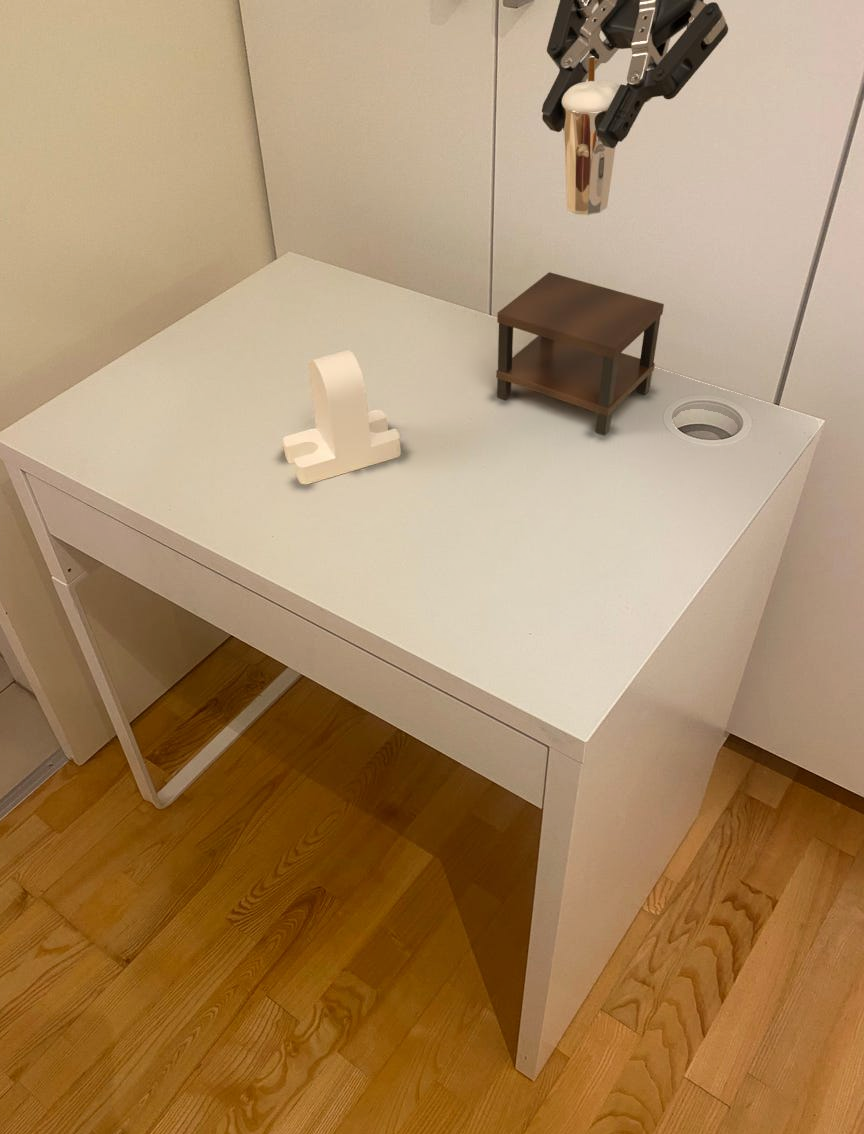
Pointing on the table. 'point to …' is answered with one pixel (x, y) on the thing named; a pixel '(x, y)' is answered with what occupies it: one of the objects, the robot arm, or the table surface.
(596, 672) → the table surface
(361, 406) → the cream mounting bracket
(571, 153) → the milkshake
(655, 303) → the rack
